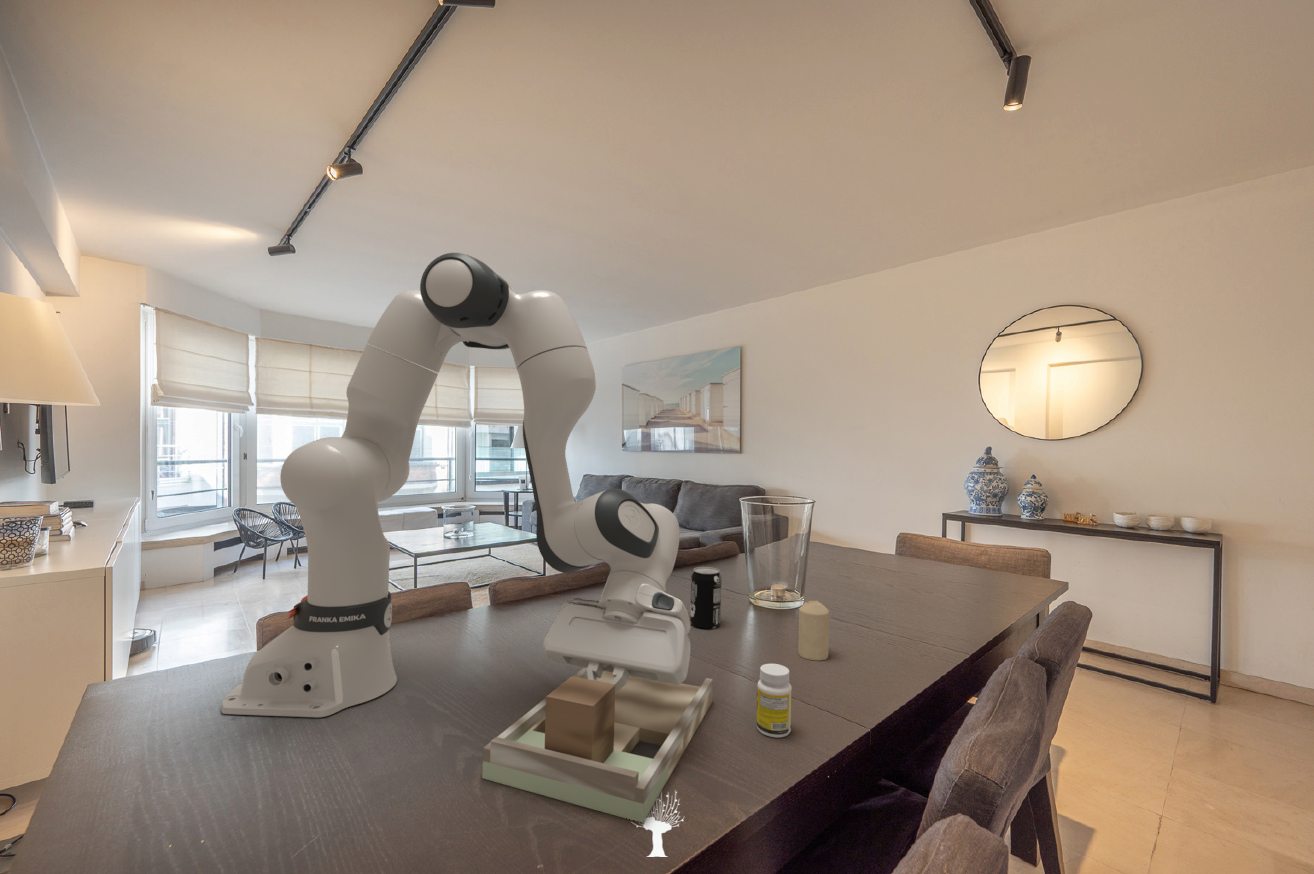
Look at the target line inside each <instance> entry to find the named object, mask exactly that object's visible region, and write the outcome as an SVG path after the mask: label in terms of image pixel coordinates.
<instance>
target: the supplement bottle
mask: <svg viewBox="0 0 1314 874" xmlns="http://www.w3.org/2000/svg"><path fill="white" fill-rule="evenodd" d="M759 671H760V672H759V680H758V682H757V685H756V729H757V730H758V732H760V733H761V734H762V735H765V736H768V737H771V738H777V739H778V738H785V737H787V736H789V735H790V734H791V731H792V701H793V700H792V697H793V696H792V695H793V694H792V693H793V688H792V685H791V683H790V669H789V668H788V667H787V666H785V665H782V664H779V663H778V664H777V663H766V664H765V663H764V664H761V666H760V668H759Z"/></svg>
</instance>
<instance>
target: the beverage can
mask: <svg viewBox="0 0 1314 874" xmlns="http://www.w3.org/2000/svg"><path fill="white" fill-rule="evenodd" d="M720 571H721V570H720V569H719V568H715V567H710V566H698V567H694V568H693V572H692V574H691V579H690V582H691V583H690V616H689V619H690V624H691V625H692V626H693V627H695V628H697V629H700V630H701V629H702V630H712V629H716V628H717V627H718V626H719V625H720V624H721V619H722V618H721V617H722V616H721V615H722V612H721V611H722V579H723V578H722V575H721V573H720Z"/></svg>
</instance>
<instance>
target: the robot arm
mask: <svg viewBox="0 0 1314 874" xmlns="http://www.w3.org/2000/svg"><path fill="white" fill-rule="evenodd" d="M419 285H420V286H419V289H406V290H403V291H401V292H399V293H398V294H396V296H394V298H393V299H392V300H391V302H390V303H389V304H388V305H387V307H386V308H385V310H384V311H383V313H382V315H381V316H380V317H379V319H378V321H377V322H376V324H375V326H374V328H373V330H372V332H371V333H370V336H369V338H368V339H367V342H366V343H367V344H365V347H364V348H363V351H362V353H361V356H360V358H359V360H358V362H357V364H356V367H355V369H354V371H353V374H352V375H351V378H350V380H349V382H348V385H347V387H346V398H347V401H348V410H347V418H346V424H345V428H344V431H343V433H342V435H341V437H340V436H339V437H338V436H330V437H329V436H328V437H327V436H326V437H322V438H319V439H316V440H313V441H311V442H308V443H306V444H303V445H301V446H299V447H297V448H295V449H294V450H293V451H292V452H291V453H290V454H289V455H288V456H287V457H286V458H285V460H284V462H283V464H282V465H281V470H280V474H279V475H280V485H281V489H282V492H283V493H284V495H285V496H286V498H287V499H288V500H289V502H291V504H292V505H294V506H295V508H296V509H297V512H298V514H299V517H300V521H301V525H302V527H303V532H304V535H305V541H306V548H307V558H308V559H307V595H306V596H304V597H302V598H301V600H300V602H298V603H297V604H295V605H294V606H293V608H292V609H290V610H289V611H288V613H289V614H288V616H287V617H288V619H289V620H290V619H292V618H293V619H292V621H293V623H292V625H291V626H290V627H289V628H287V629H286V630H284V631H283V632H282V633H280V634H279V635H277V636H276V637H275V638H274V639H272V640H271V641H269V642H268V643H267V644H266V645H264V646H263V647H261V648H260V650H258V651H257V652H256V653H255V654H254V655H253V656H252V657H251V659H250V660H249V662H248V664H247V666H246V668H245V671H244V672H245V673H244V675H243V679H242V682H241V683H239V684H238V685H237V686H235V687H234V688H233V689H231V690H230V691H229V692H228V693H227V694H226V696H225V697H224V698H223V700H222V703H221V707H220V709H221V711H220V712H221V713H222V714H225V715H239V716H240V715H242V716H243V715H245V716H246V715H247V716H267V717H268V716H269V717H270V716H273V717H295V718H296V717H299V718H324V717H328V716H331V715H333V714H336V713H338V712H340V711H342V710H344V709H347V708H348V707H352V706H356V705H359V704H364V703H367V702H368V701H372V700H373V699H376V698H378V697H380V696H382V695H384V694H386V693H388V692H389V691H390V690H392V688H394V687H395V685H396V684H397V682H398V676H397V673H396V671H395V668H394V663H393V659H392V657H393V656H392V652H391V651H392V649H391V643H390V631H389V630H391V629H390V628H391V625H392V618H393V617H392V616H393V615H392V614H393V604H392V594H391V592H390V591H389V585H390V583H389V582H390V554H391V550H390V549H391V547H390V543H389V541H388V539H387V538H386V537H385V534H384V532H383V528H382V525H381V521H380V520H381V519H380V514H379V508H378V503H380V502H384V501H386V500H388V499H389V498H392V497H393V495H395V494H396V493H398V492H399V491H400V490H401V489H402V488H403V487H404V486H405V484H406V482H407V481H408V479H409V475H410V457H411V453H412V450H413V446H414V440H415V435H416V433H417V427H418V424H419V421H420V418H421V416H422V413H423V410H424V408H425V406H426V403H427V400H428V398H429V396H430V394H431V391H432V390H433V386H434V385H435V382H436V380H437V378H438V376H439V373H440V372H441V368H442V366H443V364H444V361H445V359H446V356H447V354H448V353H449V351H450V350H451V349H452V348H453V347H454V346H455V345H457V344H460V343H463V345H464V346H466V347H467V348H476V349H477V348H478V349H486V350H487V349H488V350H506V349H509V350H510V352H511V354H512V358H513V360H514V364H515V368H516V371H517V374H518V377H519V381H520V386H521V391H522V400H523V401H522V402H523V422H522V439H523V445H524V446H523V447H524V452H525V457H526V458H525V459H526V463H527V467H528V472H529V473H528V474H529V478H530V483H531V488H532V493H533V498H534V504H535V505H534V506H535V511H536V531H535V532H536V543H537V548H538V551H539V553H540V555H541V557H542V558H543V560H544V562H546V563H547V565H548V566H549V567H551V568H552V569H553V570H555V571H557V572H559V573H561V574H562V573H564V574H573V573H577V572H579V571H581V570H583V569H586V568H587V567H590V566H592V565H595V564H598V563H601V562H605V563H606V564H608V566H609V567H610V571H609V573H608V577H607V579H606V581H605V582H606V583H605V584H604V588H603V590H602V592H601V596H600V597H599V599H598V600H595V599H584V598H582V597H574V598H573V599H570V600H568V601H566V602H564V603H563V604H562V605H561V606H560V608H559V611H558V613H557V617H556V618H555V619H554V621H553V623H552V625H550V628H549V629H548V631H547V634H546V636H545V638H544V640H543V642H542V647H543V651H544V654H546V656H547V657H548V658H549V660H551V662H555V663H558V664H559V663H560V664H565V665H571V666H576V667H581V668H584V667H585V668H587V674H588V679H589V680H595V681H597V677H598V678H601V676H602V674H603V671H606V672H611V673H613V675H614V677H615V678H614V679H613V680H612V681H611V682H610V684H615V694H616V693H617V692H618V691H619V690H620V689H621V688H622V687H623V686H624V685H625V684H626V683H627V680H628V676H632V677H638V678H643V679H648V680H653V681H659V682H664V683H669V684H674V685H679V684H680V683H682V684H683V682H684V681H685V680H686V679H687V676H688V673H689V665H690V659H691V641H690V637H689V635H688V634H689V633H690V630H691V625H692V624H691V621H690V616H689V613H688V610H687V608H686V606H685V604H684V602H683V601H682V600H681V599H679V598H677V597H675V596H673V595H671V594H669V593H666V589H667V588H666V586H667V582H668V579H669V578H670V576H671V574H672V573H673V569H674V567H675V563H676V561H677V560H676V559H677V555H678V551H679V546H680V537H681V536H680V534H681V531H680V530H681V529H680V524H679V520H678V519H677V516H676V515H675V514H674V513H673V512H672V511H671V510H670V509H668V508H667V507H665V506H663V505H662V504H661V505H660V504H657V503H652V502H651V503H644V502H643V503H642V502H640V500H638V499H637V498H636V497H634V496H633V495H632V494H631V493H629V492H628V491H626V490H624V489H621V488H616V487H615V488H608V489H606V490H603V491H600V492H597V493H595V494H593V495H590V496H588V497H586V498H584V499H582V500H580V501H575V498H574V495H573V494H574V493H573V488H572V483H571V478H570V473H569V468H568V464H567V459H566V449H567V443H568V440H569V438H570V435H571V433H572V432H573V430H574V428H575V426H576V424H577V423H578V422H579V420H580V419H581V418H582V416H584V414H585V412H586V411H587V410H588V409H589V407H590V405H591V403H592V401H593V400H594V397H595V396H594V395H595V393H596V388H597V387H596V386H597V385H596V384H597V382H596V373H595V369H594V365H593V361H592V360H591V356H590V354H589V350H588V348H587V346H586V345H587V344H586V342H585V340H584V337H583V334H582V332H581V330H580V327H579V325H578V324H577V321H576V320H575V318H574V316H573V314H572V312H571V310H570V308H569V307H568V306H569V305H567V303H566V302H565V300H564V298H562V297H561V296H560V295H559V294H557V293H556V292H553V291H549V290H545V289H537V290H532V291H529V292H525V293H518V292H516V290H515V289H514V288H513V287H512V286H511V285H510V283H509V282H508V281H507V280H506V279H505V278H504V277H502V276H500V275H499V274H497V273H496V272H495V271H494V270H493V269H492V268H491V267H490V266H488V265H487V264H486V263H485V262H483V261H482V260H479V259H478V258H476V257H473V256H471V255H469V254H465V253H461V252H449V253H448V252H447V253H444V254H442V255H439V256H437V257H435V258H434V259H433V260H432V261H430V263H429V264H428V265H427V266H426V268H425V270H424V272H423V273H422V276H421V279H420V284H419Z"/></svg>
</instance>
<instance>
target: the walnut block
mask: <svg viewBox="0 0 1314 874" xmlns="http://www.w3.org/2000/svg"><path fill="white" fill-rule="evenodd" d="M545 698H546V716H545V749H547V750H551V751H555V752H559V753H564V754H568V755H572V756H576V757H580V758H584V759H588V760H592V761H596V762H600V763H604V762H605V761H606V760H607V758H608V757H609V756H610V755H611V753H612V752H613V751H614V717H615V684H610V683H605V682H600V681H595V680H589V679H584V678H579V677H574V675H571V676H570V677H569V678H567V679H566V680H565V681H564V682H562V683H561V684H559V685H558V686H557V687H556V688H555V689H553V690H552V691H551V692H550V693H549V694H547V695H546V696H545Z"/></svg>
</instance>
